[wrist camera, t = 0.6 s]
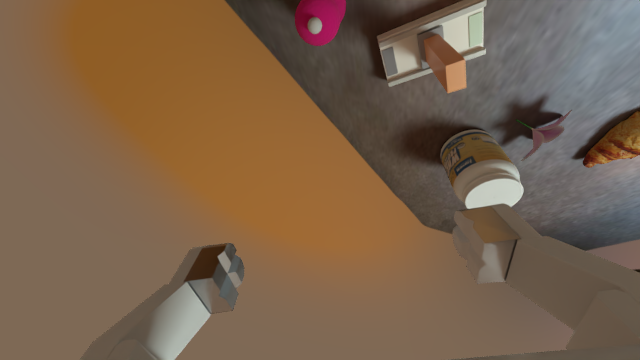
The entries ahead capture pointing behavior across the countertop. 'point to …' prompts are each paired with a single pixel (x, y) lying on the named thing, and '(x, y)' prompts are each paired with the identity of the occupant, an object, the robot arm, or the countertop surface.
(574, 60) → the countertop surface
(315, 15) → the pepper mill
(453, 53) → the lever
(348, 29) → the countertop surface
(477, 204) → the supplement tub
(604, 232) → the countertop surface
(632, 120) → the croissant
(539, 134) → the lily
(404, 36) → the white base plate
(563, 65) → the countertop surface
